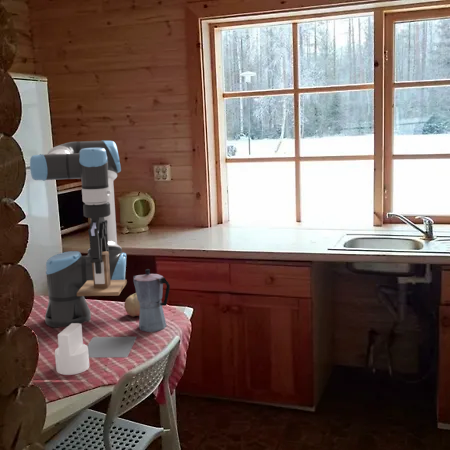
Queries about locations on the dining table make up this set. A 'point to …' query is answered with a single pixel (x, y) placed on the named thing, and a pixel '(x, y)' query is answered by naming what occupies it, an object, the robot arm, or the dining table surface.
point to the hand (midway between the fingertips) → (102, 281)
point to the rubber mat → (110, 346)
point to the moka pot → (151, 301)
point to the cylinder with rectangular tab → (71, 351)
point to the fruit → (132, 305)
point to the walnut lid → (102, 289)
